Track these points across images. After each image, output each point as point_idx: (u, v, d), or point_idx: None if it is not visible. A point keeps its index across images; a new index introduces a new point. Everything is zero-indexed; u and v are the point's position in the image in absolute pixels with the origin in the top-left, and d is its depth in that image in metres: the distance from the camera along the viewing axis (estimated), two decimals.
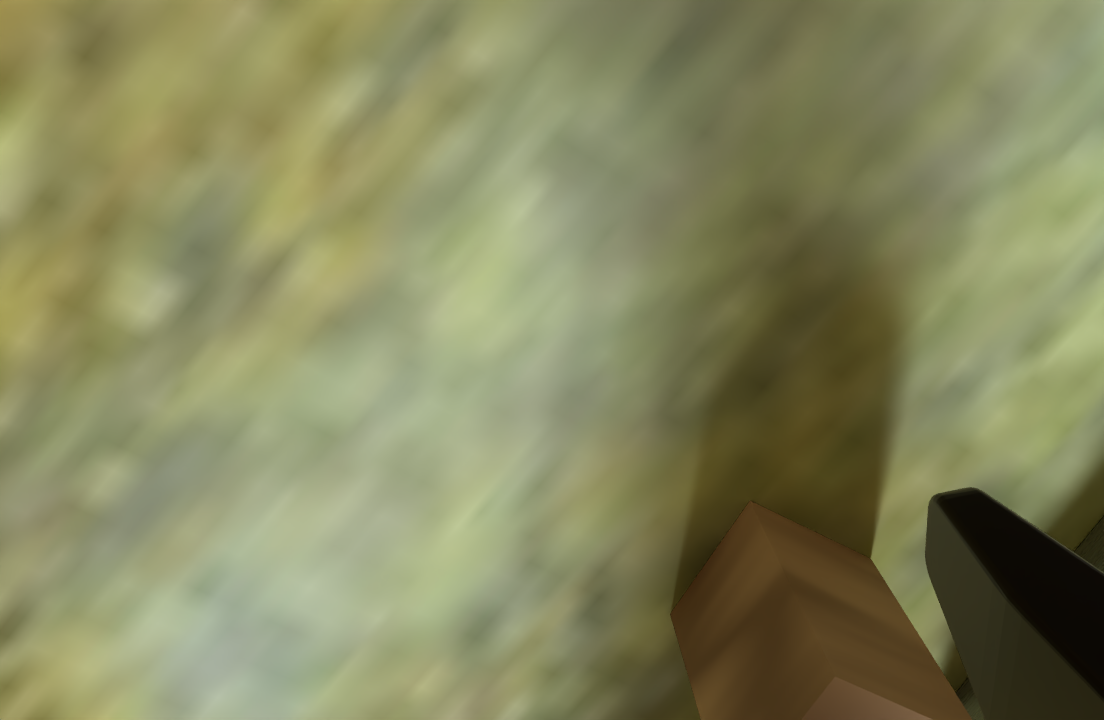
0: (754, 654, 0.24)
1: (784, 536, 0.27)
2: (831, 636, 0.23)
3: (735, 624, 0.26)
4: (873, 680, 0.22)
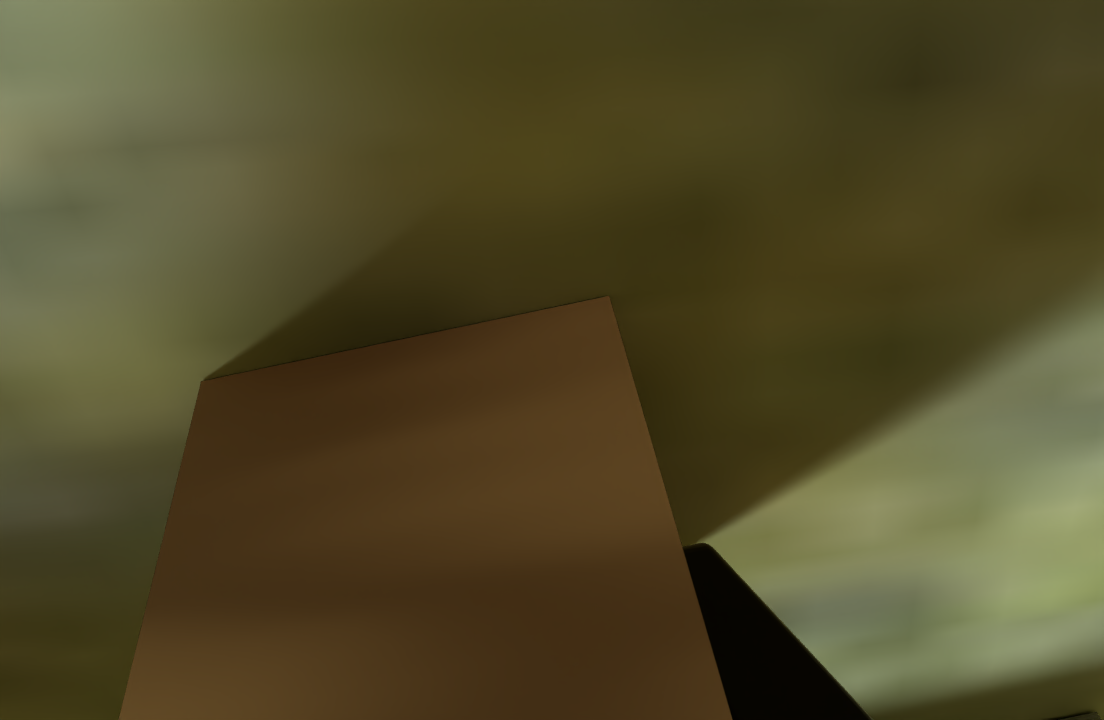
0: None
1: None
2: None
3: (414, 569, 0.08)
4: None
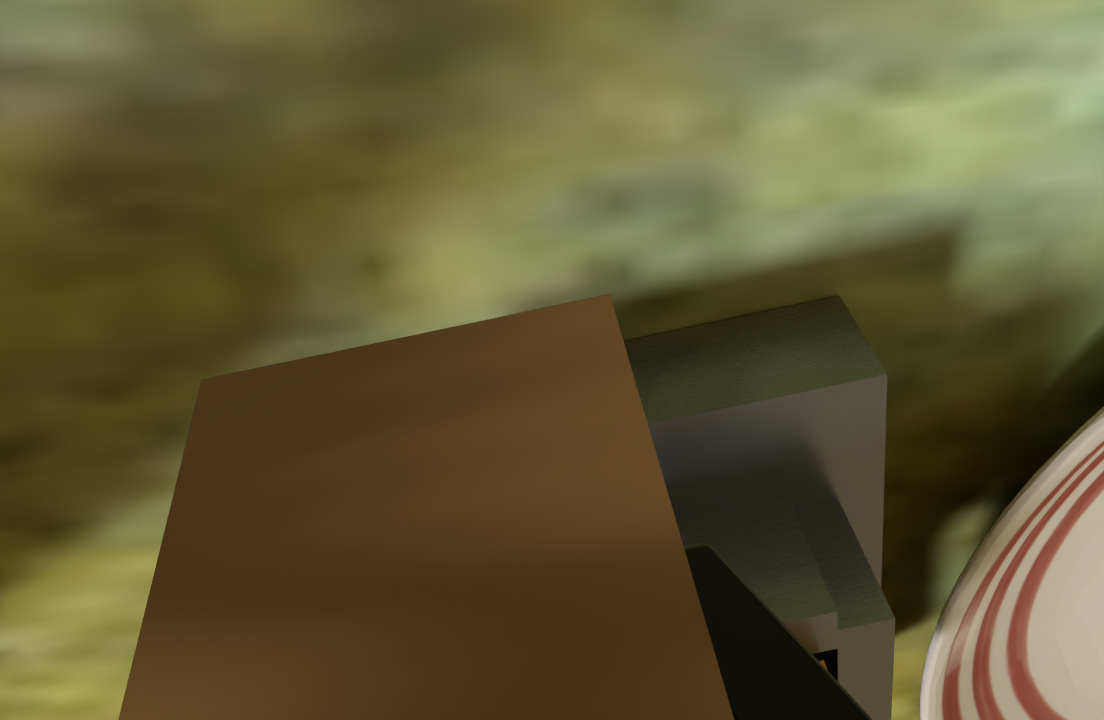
0: None
1: None
2: None
3: (413, 568, 0.08)
4: None
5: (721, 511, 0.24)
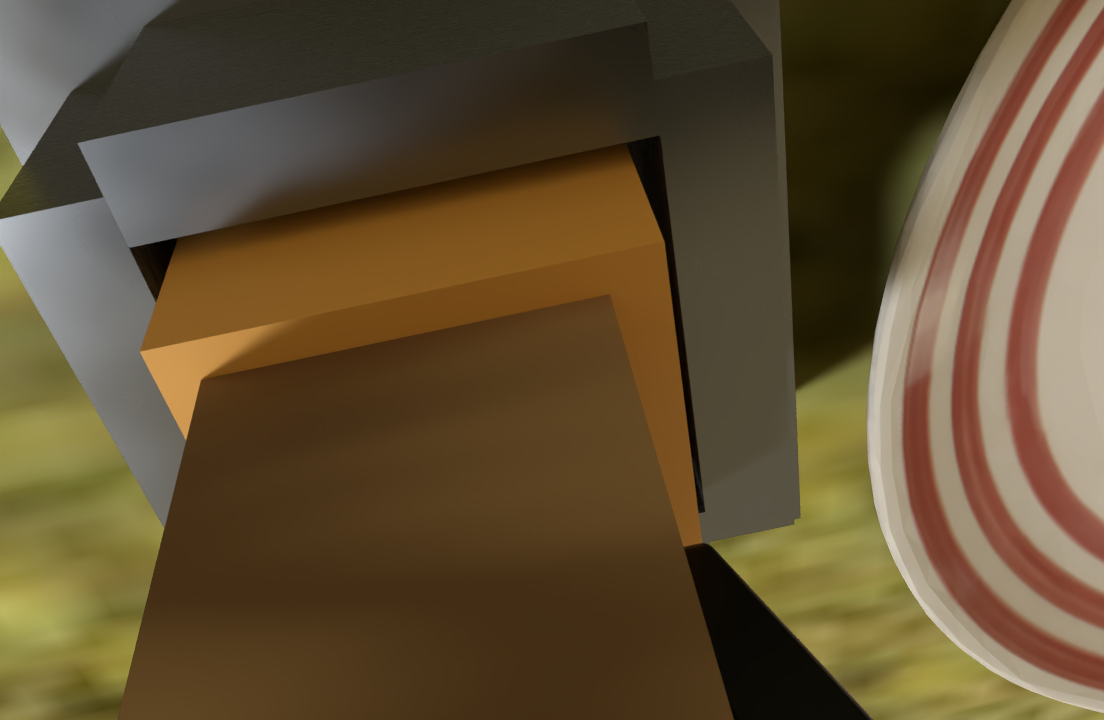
0: None
1: None
2: None
3: (412, 568, 0.08)
4: None
5: None
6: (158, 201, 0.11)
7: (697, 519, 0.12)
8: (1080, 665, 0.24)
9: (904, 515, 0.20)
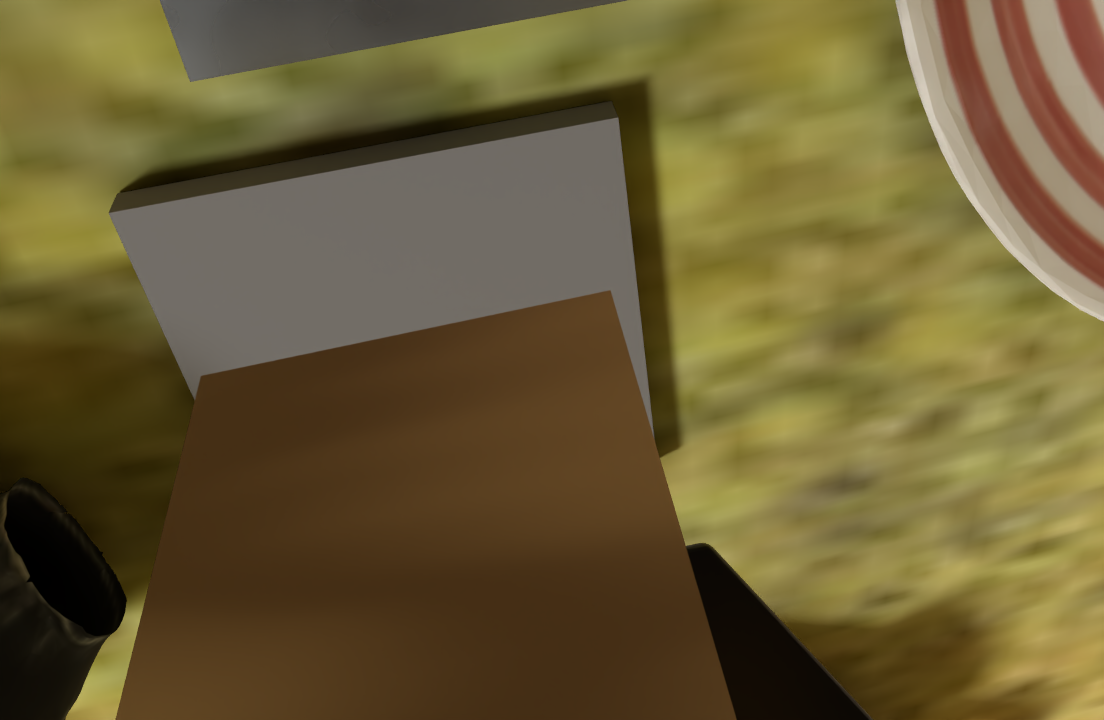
0: None
1: None
2: None
3: (413, 563, 0.08)
4: None
5: None
6: None
7: None
8: (1103, 265, 0.22)
9: None
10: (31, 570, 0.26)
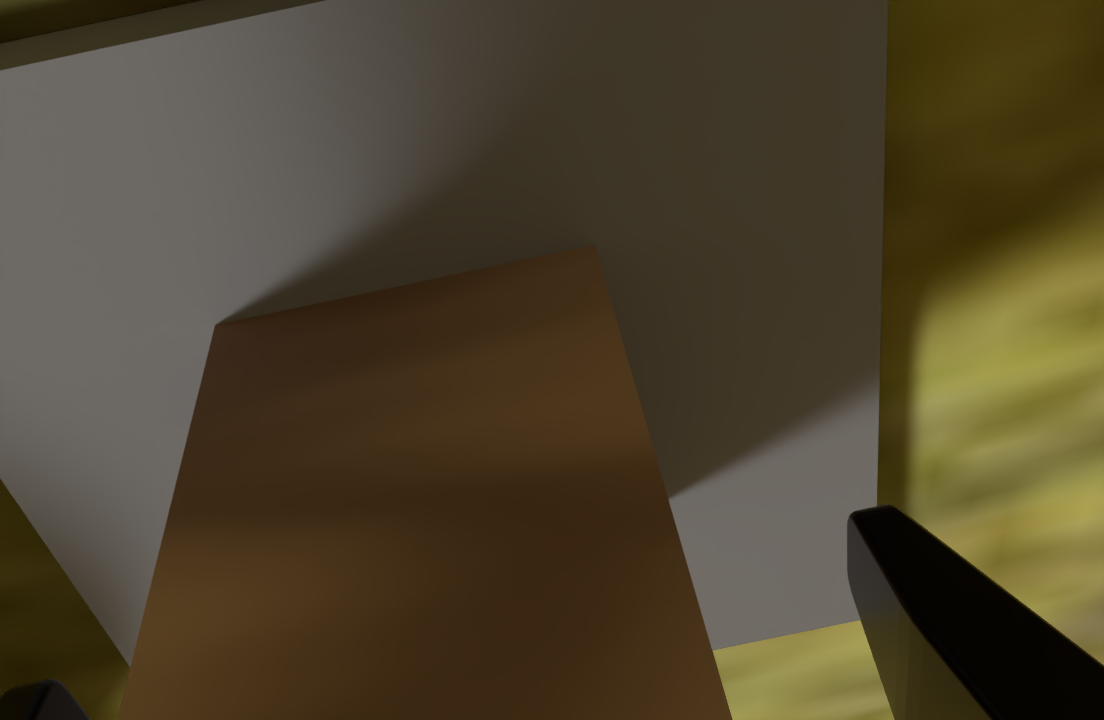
0: (442, 607, 0.07)
1: None
2: None
3: (410, 480, 0.08)
4: None
5: None
6: None
7: None
8: None
9: None
10: None
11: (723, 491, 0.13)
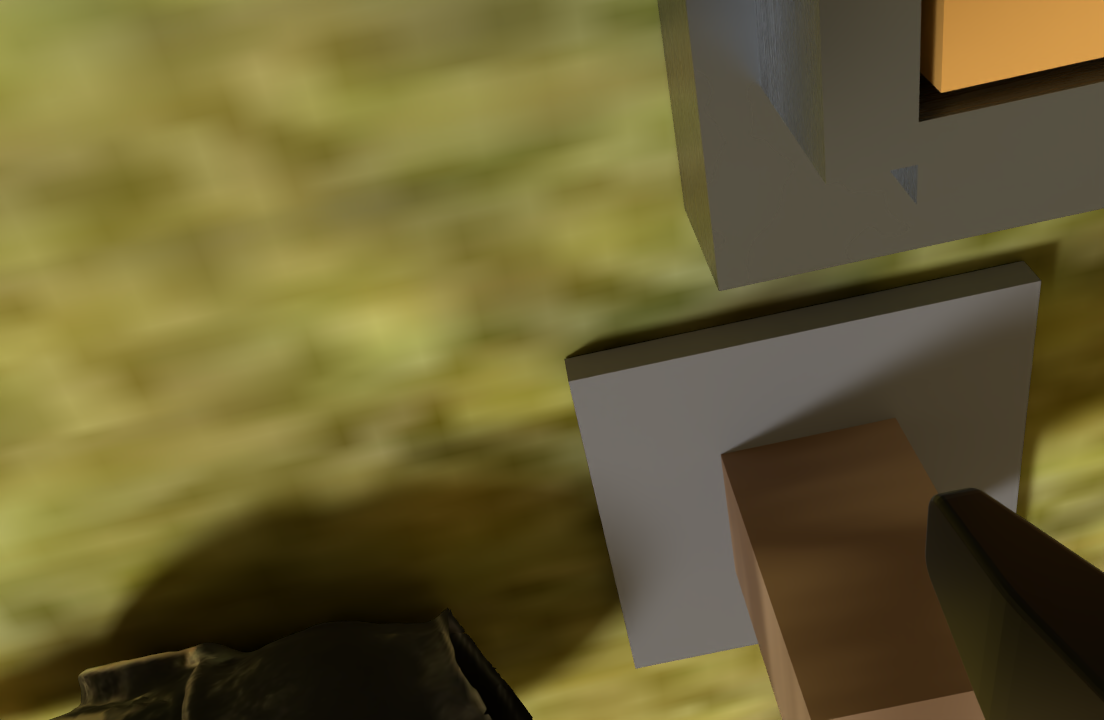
0: (886, 579, 0.20)
1: None
2: None
3: (852, 530, 0.21)
4: None
5: None
6: None
7: None
8: None
9: None
10: None
11: None
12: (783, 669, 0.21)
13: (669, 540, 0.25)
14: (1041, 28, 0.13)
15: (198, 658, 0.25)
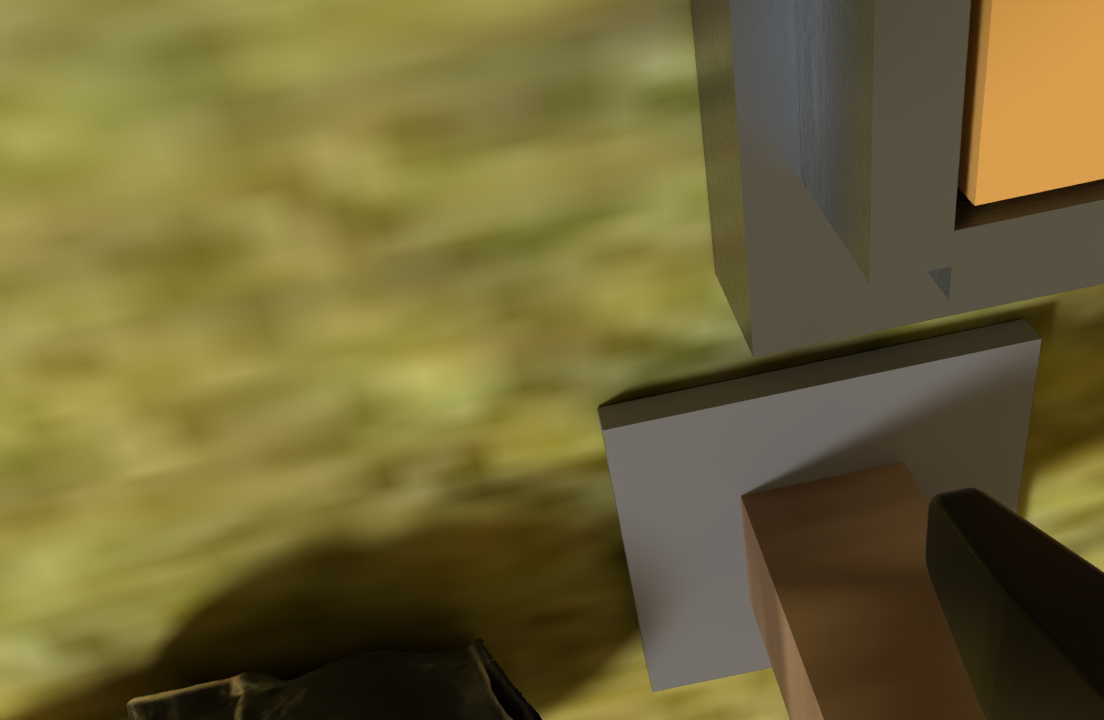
0: (901, 618, 0.22)
1: None
2: None
3: (867, 570, 0.23)
4: None
5: None
6: None
7: None
8: None
9: None
10: None
11: None
12: (805, 701, 0.22)
13: (689, 574, 0.27)
14: (1065, 151, 0.14)
15: (242, 687, 0.26)
